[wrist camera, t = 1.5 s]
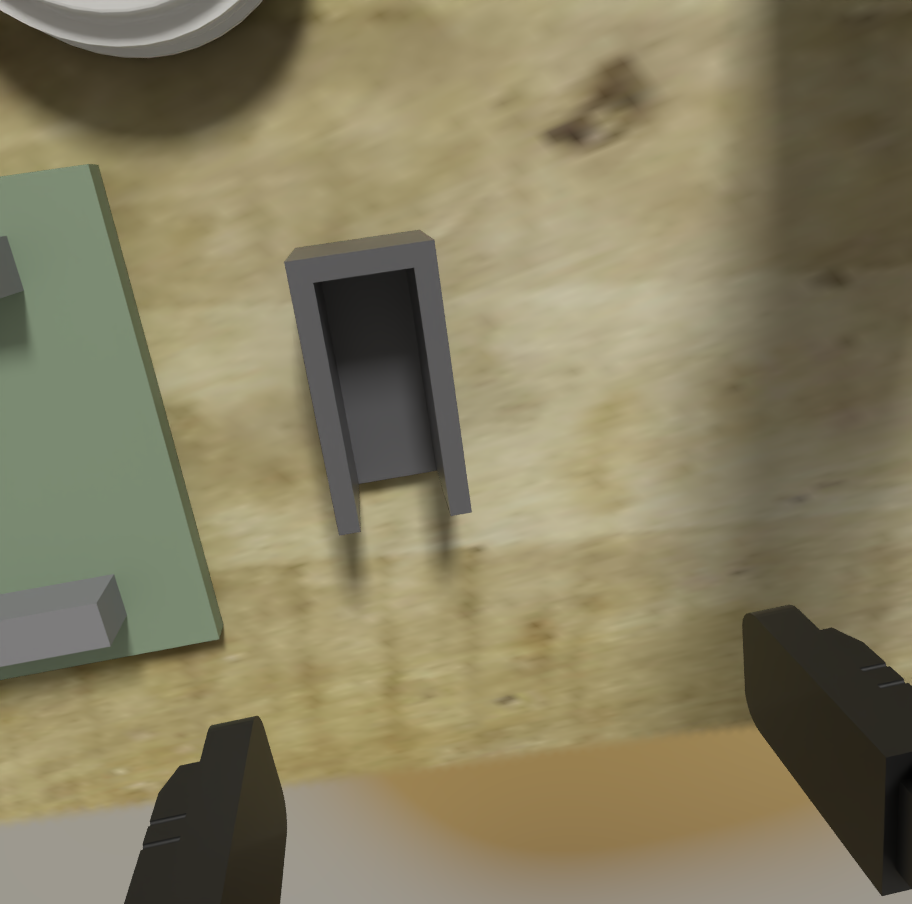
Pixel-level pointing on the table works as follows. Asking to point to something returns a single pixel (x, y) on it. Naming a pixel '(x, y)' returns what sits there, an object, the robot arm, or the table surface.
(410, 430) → the chute
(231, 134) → the table surface
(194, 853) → the robot arm
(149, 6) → the lid
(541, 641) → the table surface
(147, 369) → the chute mount
